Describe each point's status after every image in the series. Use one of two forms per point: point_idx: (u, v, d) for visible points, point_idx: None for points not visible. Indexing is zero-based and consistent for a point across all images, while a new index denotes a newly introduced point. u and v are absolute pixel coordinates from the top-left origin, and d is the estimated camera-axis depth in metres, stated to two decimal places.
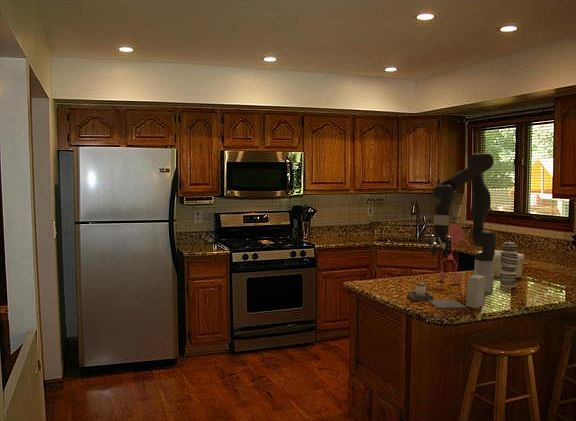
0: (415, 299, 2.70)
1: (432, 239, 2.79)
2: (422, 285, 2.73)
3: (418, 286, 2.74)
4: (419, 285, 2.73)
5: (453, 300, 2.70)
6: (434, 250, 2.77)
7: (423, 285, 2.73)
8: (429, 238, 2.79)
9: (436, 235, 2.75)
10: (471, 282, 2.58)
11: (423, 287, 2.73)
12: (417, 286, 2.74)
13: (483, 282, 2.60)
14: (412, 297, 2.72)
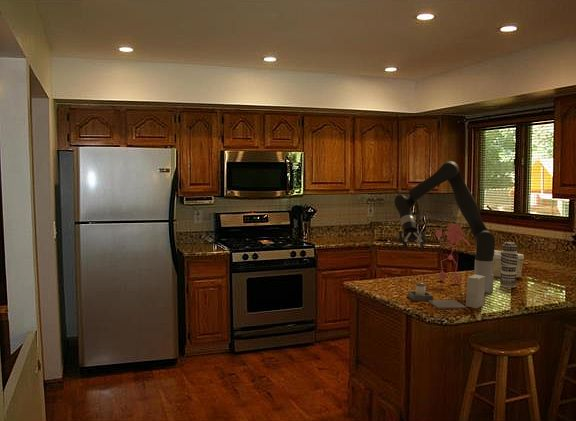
0: (415, 299, 2.70)
1: None
2: (422, 285, 2.73)
3: (418, 286, 2.74)
4: (419, 285, 2.73)
5: (453, 300, 2.70)
6: (420, 245, 2.87)
7: (423, 285, 2.73)
8: None
9: None
10: (471, 282, 2.58)
11: (423, 287, 2.73)
12: (417, 286, 2.74)
13: (483, 282, 2.60)
14: (412, 297, 2.72)
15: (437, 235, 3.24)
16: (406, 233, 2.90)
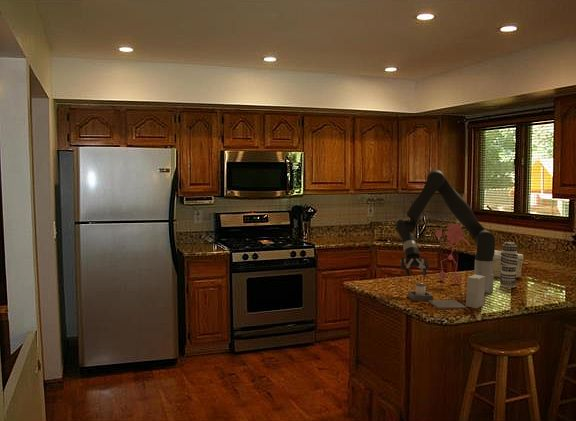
0: (415, 299, 2.70)
1: None
2: (422, 285, 2.73)
3: (418, 286, 2.74)
4: (419, 285, 2.73)
5: (453, 300, 2.70)
6: (423, 271, 2.83)
7: (423, 285, 2.73)
8: None
9: None
10: (471, 282, 2.58)
11: (423, 287, 2.73)
12: (417, 286, 2.74)
13: (483, 282, 2.60)
14: (412, 297, 2.72)
15: (437, 235, 3.24)
16: (408, 259, 2.86)
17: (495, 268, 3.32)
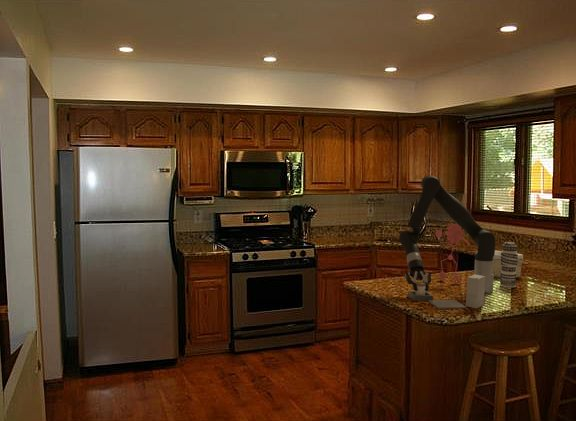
0: (415, 299, 2.70)
1: None
2: (422, 285, 2.73)
3: (418, 286, 2.74)
4: (419, 285, 2.73)
5: (453, 300, 2.70)
6: None
7: (423, 285, 2.73)
8: None
9: None
10: (471, 282, 2.58)
11: (423, 287, 2.73)
12: (417, 286, 2.74)
13: (483, 282, 2.60)
14: (412, 297, 2.72)
15: (437, 235, 3.24)
16: (412, 273, 2.79)
17: (495, 268, 3.32)
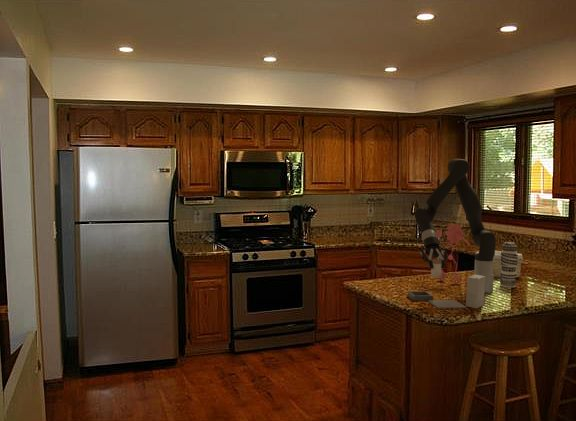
0: (415, 299, 2.70)
1: None
2: (438, 262, 2.65)
3: (434, 263, 2.66)
4: (435, 262, 2.65)
5: (453, 300, 2.70)
6: None
7: (439, 262, 2.65)
8: None
9: None
10: (471, 282, 2.58)
11: (439, 264, 2.65)
12: (433, 263, 2.66)
13: (483, 282, 2.60)
14: (412, 297, 2.72)
15: (437, 235, 3.24)
16: (428, 250, 2.71)
17: (496, 268, 3.32)
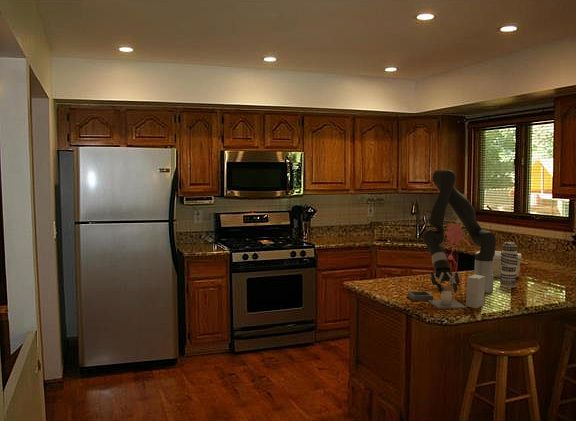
0: (415, 299, 2.70)
1: None
2: (449, 290, 2.61)
3: (444, 290, 2.61)
4: (446, 290, 2.61)
5: (453, 300, 2.70)
6: (453, 286, 2.63)
7: (450, 289, 2.61)
8: None
9: None
10: (471, 282, 2.58)
11: (450, 292, 2.61)
12: (443, 291, 2.62)
13: (483, 282, 2.60)
14: (412, 297, 2.72)
15: None
16: (438, 273, 2.67)
17: (497, 268, 3.31)
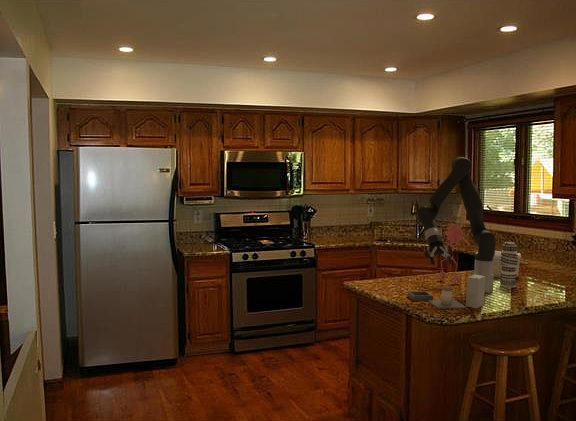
0: (415, 299, 2.70)
1: None
2: (449, 289, 2.61)
3: (445, 290, 2.61)
4: (446, 289, 2.61)
5: (453, 300, 2.70)
6: (447, 259, 2.74)
7: (450, 289, 2.61)
8: None
9: None
10: (471, 282, 2.58)
11: (450, 292, 2.61)
12: (444, 290, 2.62)
13: (483, 282, 2.60)
14: (412, 297, 2.72)
15: None
16: (432, 247, 2.77)
17: (497, 268, 3.31)
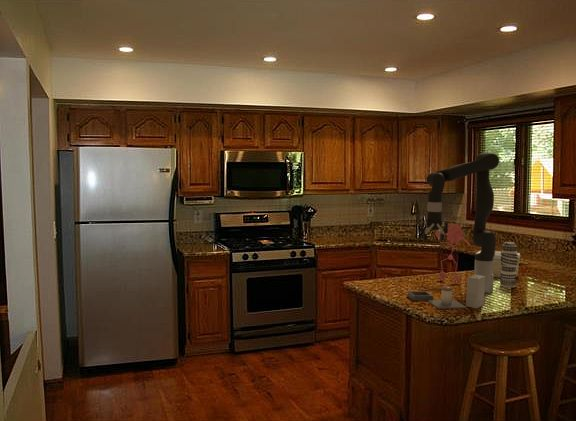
0: (415, 299, 2.70)
1: None
2: (449, 290, 2.60)
3: (445, 290, 2.61)
4: (446, 290, 2.61)
5: (453, 300, 2.70)
6: (440, 236, 2.85)
7: (450, 290, 2.61)
8: None
9: None
10: (471, 282, 2.58)
11: (450, 292, 2.61)
12: (444, 291, 2.61)
13: (483, 282, 2.60)
14: (412, 297, 2.72)
15: (437, 235, 3.24)
16: (429, 223, 2.83)
17: (498, 269, 3.31)
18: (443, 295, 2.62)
